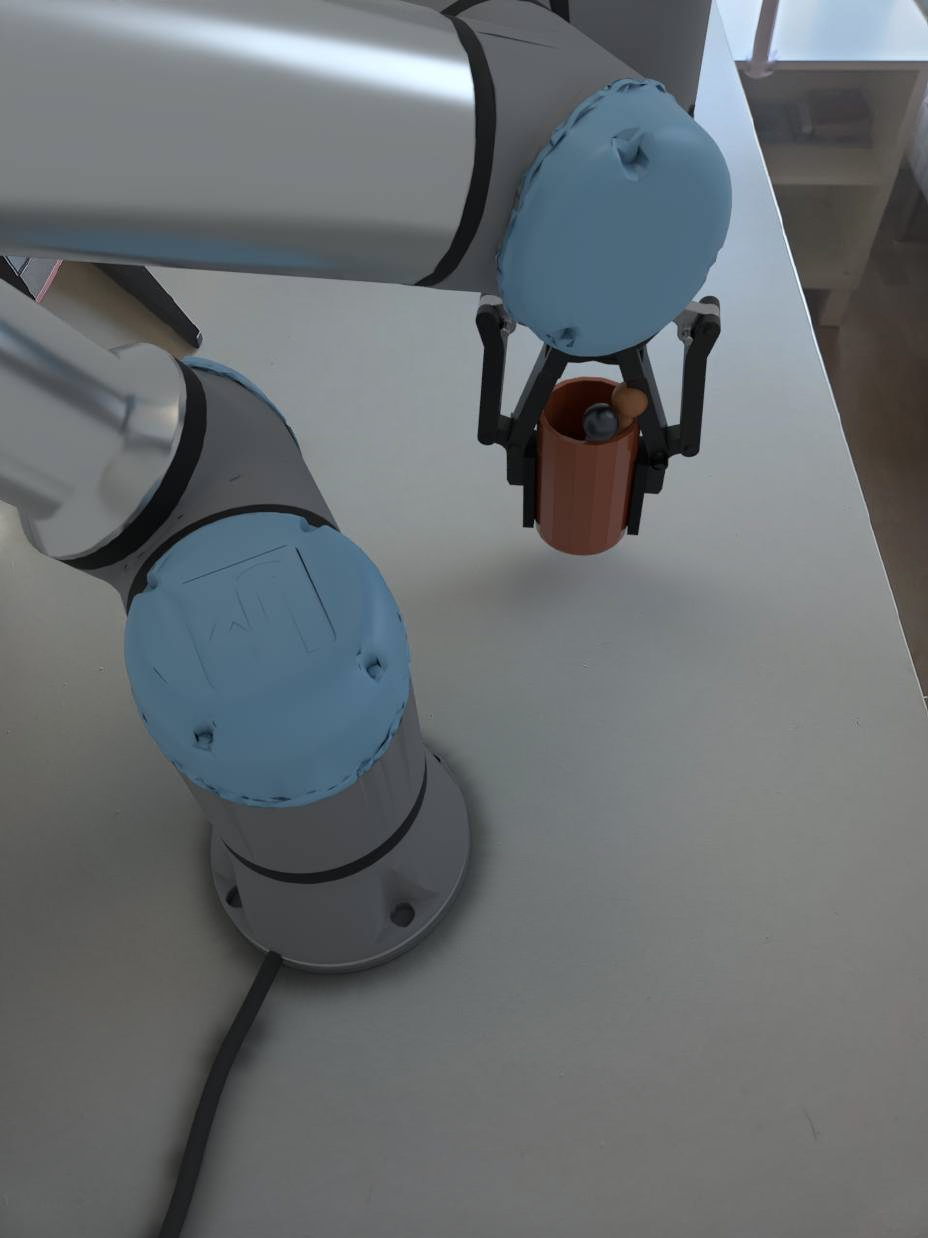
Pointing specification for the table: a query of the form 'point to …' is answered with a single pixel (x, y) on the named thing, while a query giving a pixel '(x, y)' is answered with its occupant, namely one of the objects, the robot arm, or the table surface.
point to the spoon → (627, 405)
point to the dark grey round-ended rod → (600, 422)
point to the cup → (582, 472)
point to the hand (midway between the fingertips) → (581, 516)
